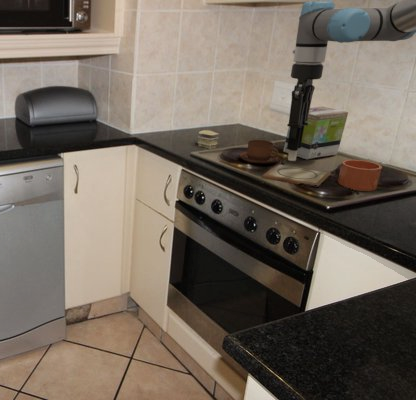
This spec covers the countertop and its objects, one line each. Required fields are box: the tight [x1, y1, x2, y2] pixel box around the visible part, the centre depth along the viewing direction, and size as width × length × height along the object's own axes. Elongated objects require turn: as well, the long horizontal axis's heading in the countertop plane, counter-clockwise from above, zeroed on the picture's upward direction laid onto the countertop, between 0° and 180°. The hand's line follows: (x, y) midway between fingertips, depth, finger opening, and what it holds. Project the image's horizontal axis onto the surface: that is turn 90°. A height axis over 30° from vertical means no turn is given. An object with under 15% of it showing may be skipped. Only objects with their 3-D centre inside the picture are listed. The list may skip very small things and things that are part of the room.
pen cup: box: [337, 159, 383, 192], centre depth 130 cm, size 9×9×6 cm
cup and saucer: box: [238, 139, 280, 165], centre depth 152 cm, size 12×12×6 cm
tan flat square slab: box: [261, 163, 332, 186], centre depth 138 cm, size 15×14×1 cm
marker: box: [287, 115, 304, 162], centre depth 135 cm, size 2×2×13 cm
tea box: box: [283, 106, 349, 160], centre depth 158 cm, size 15×10×15 cm, turn 117°
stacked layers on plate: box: [197, 129, 220, 150], centre depth 169 cm, size 10×9×6 cm
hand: (293, 148), depth 136 cm, fingers closed on marker, 2 cm apart
